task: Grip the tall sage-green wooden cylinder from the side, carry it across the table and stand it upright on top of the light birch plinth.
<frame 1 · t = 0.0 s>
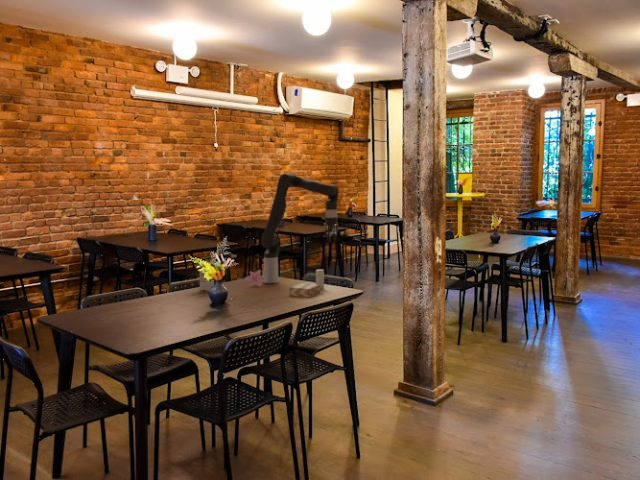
hand: (331, 241, 375), 29 cm above the table, tool pointing down, fingers open, 8 cm apart
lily: (255, 285, 388), on the table
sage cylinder: (320, 288, 374), on the table
birch plinth: (305, 294, 359), on the table
supplement box: (210, 289, 377), on the table
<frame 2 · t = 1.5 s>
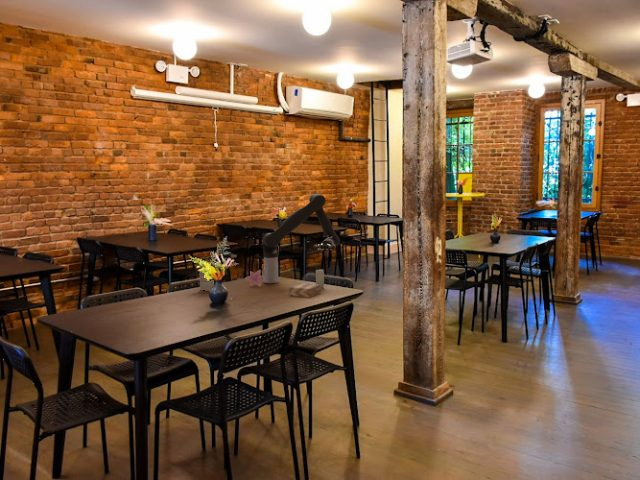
hand: (322, 248, 381), 24 cm above the table, tool horizontal, fingers open, 8 cm apart
nothing on the table moved.
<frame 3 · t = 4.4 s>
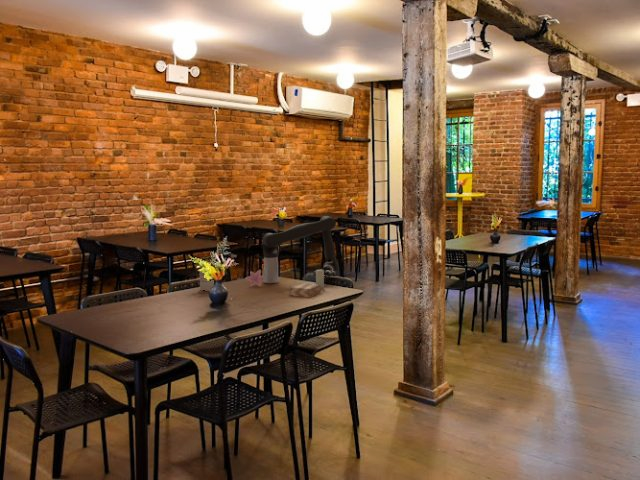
hand: (322, 275, 381), 7 cm above the table, tool horizontal, fingers open, 8 cm apart
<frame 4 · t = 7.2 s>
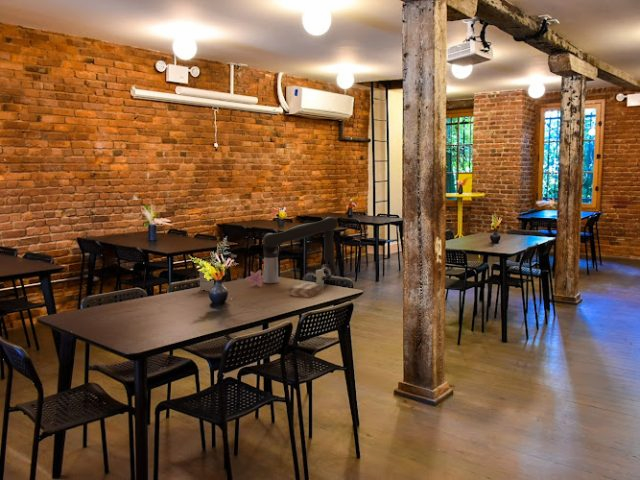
hand: (319, 278, 370), 7 cm above the table, tool horizontal, fingers closed on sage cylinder, 5 cm apart
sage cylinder: (320, 288, 374), on the table, touching gripper
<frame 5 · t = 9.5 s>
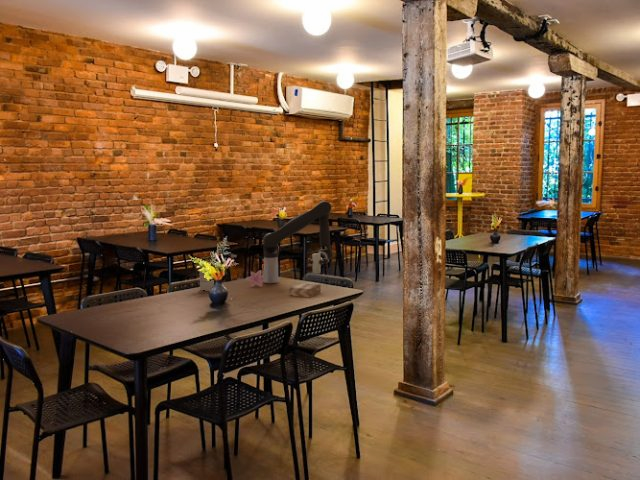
hand: (315, 262, 366), 18 cm above the table, tool horizontal, fingers closed on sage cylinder, 5 cm apart
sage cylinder: (316, 272, 369), point 11 cm above the table, touching gripper
when the fingers open (13 cm above the table, at t = 11.9 s): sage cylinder drops 1 cm, resting on birch plinth.
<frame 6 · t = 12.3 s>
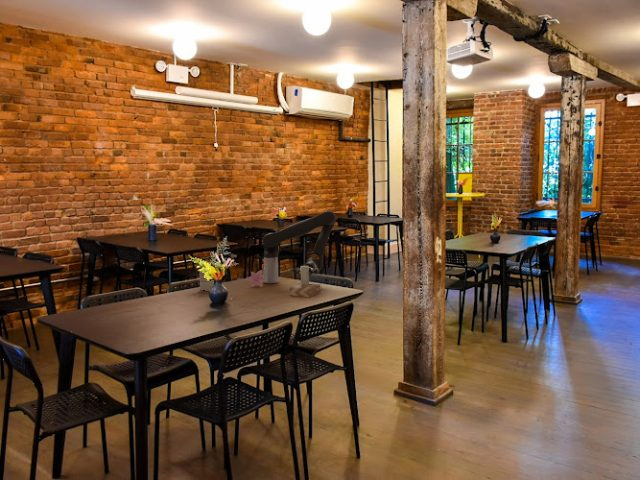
hand: (304, 272, 356), 14 cm above the table, tool horizontal, fingers open, 8 cm apart
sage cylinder: (304, 285, 359), point 5 cm above the table, touching birch plinth
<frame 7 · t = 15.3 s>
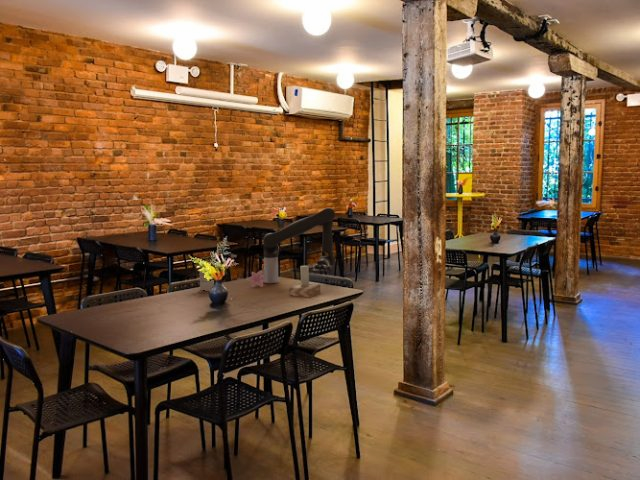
hand: (317, 269, 366), 14 cm above the table, tool horizontal, fingers open, 8 cm apart
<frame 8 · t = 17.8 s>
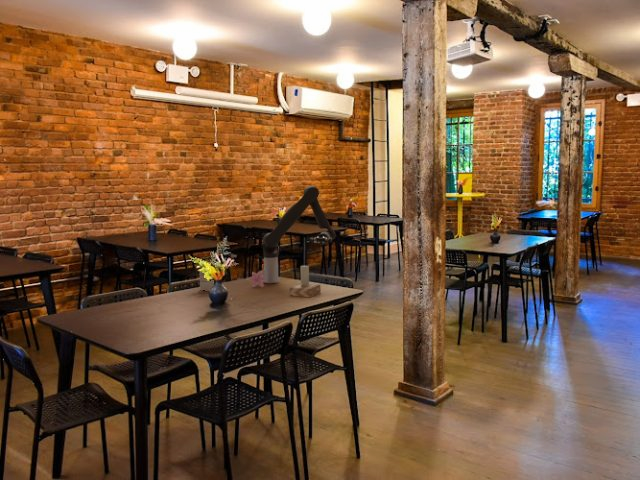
hand: (318, 241, 373), 30 cm above the table, tool horizontal, fingers open, 8 cm apart
at the end: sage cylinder inside the target area on the birch plinth (0.1 cm from its centre), point 5.1 cm above the birch plinth's base; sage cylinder tilted 1°; the gripper is holding nothing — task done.
